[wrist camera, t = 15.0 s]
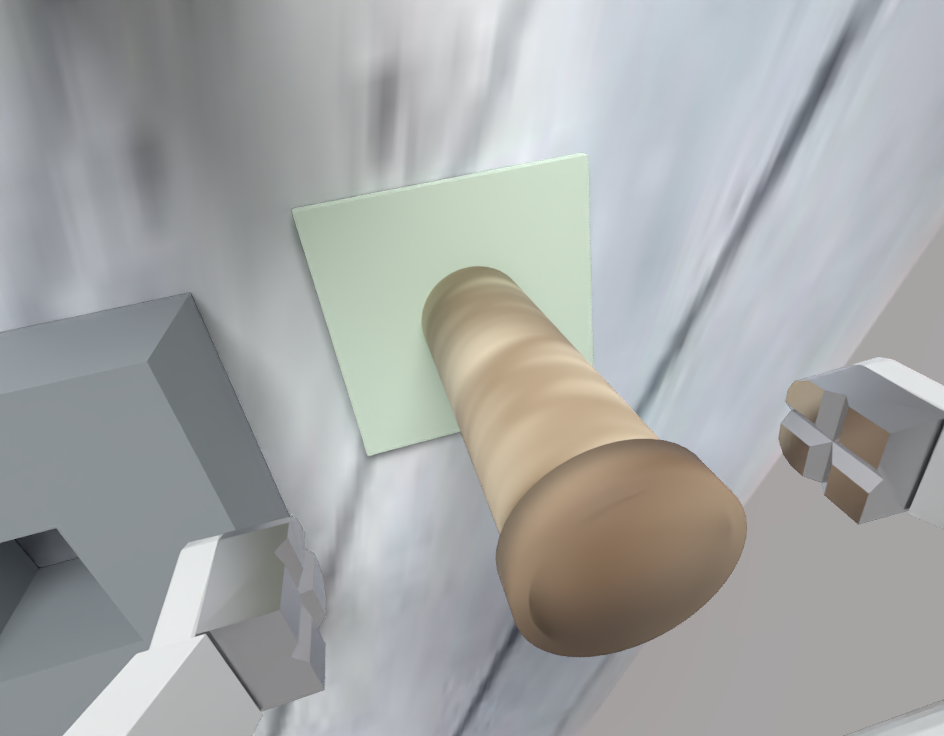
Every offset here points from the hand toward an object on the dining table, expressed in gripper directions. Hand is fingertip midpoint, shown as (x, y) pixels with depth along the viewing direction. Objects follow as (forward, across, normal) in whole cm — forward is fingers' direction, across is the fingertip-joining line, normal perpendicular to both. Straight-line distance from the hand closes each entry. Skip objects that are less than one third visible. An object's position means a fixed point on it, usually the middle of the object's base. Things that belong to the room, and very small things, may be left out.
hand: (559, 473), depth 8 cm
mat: (+12, -1, +3) cm, 13 cm away
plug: (+12, -1, +3) cm, 12 cm away
